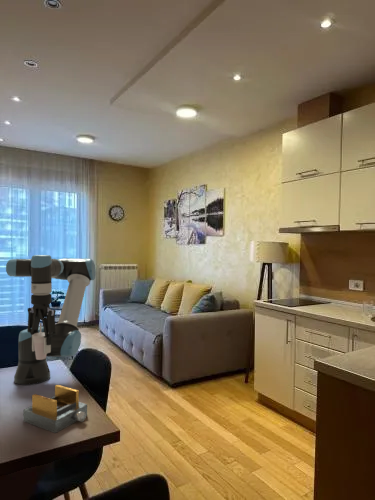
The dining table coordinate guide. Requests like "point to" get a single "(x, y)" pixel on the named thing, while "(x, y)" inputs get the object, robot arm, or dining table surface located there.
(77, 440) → the dining table surface
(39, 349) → the smoothie
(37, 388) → the dining table surface
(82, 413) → the vise
